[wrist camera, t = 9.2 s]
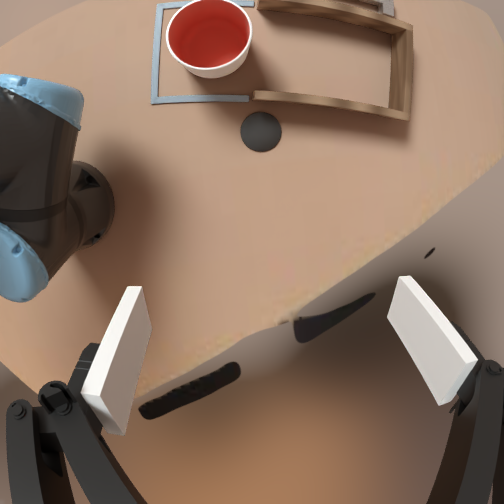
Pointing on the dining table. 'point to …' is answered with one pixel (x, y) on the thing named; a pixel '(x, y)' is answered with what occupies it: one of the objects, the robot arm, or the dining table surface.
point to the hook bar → (383, 6)
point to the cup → (210, 37)
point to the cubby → (316, 4)
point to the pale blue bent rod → (239, 0)
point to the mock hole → (260, 131)
